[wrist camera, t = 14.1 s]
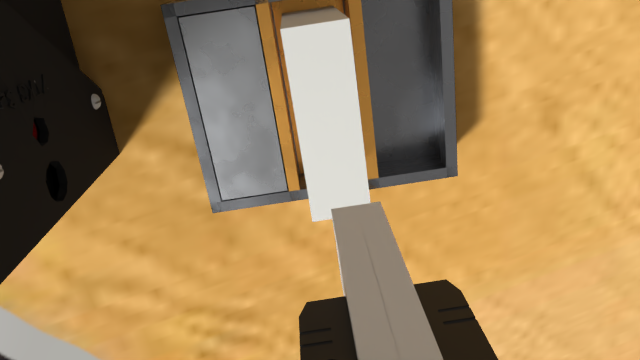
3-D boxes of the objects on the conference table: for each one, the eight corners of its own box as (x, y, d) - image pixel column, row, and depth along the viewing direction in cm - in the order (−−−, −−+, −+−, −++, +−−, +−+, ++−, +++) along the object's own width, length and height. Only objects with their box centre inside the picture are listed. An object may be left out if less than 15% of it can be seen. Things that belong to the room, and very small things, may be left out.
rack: (173, 1, 34) (160, 4, 31) (433, -38, 34) (450, -39, 31) (219, 190, 40) (212, 213, 36) (442, 157, 40) (457, 176, 36)
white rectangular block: (306, 161, 38) (312, 221, 29) (282, 13, 34) (280, 29, 25) (351, 154, 38) (371, 212, 29) (332, 5, 34) (349, 18, 25)
